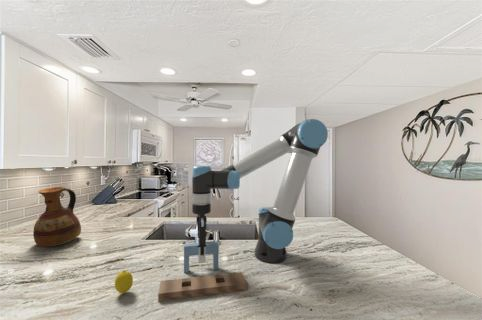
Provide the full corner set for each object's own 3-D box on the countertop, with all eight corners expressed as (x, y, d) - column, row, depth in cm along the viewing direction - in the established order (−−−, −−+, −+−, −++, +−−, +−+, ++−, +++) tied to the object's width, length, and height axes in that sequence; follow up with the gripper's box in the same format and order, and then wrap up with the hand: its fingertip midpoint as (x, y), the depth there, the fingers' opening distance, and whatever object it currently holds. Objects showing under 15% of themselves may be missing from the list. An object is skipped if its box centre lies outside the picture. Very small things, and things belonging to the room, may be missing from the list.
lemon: (119, 289, 84) (118, 267, 84) (135, 288, 84) (135, 266, 84) (111, 298, 78) (111, 275, 78) (129, 298, 79) (129, 274, 78)
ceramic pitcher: (25, 246, 121) (23, 188, 120) (66, 233, 139) (66, 183, 139) (48, 252, 113) (47, 190, 113) (89, 238, 132) (88, 185, 131)
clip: (217, 266, 101) (217, 241, 101) (218, 270, 98) (218, 243, 98) (184, 269, 98) (184, 243, 98) (183, 273, 95) (184, 246, 95)
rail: (241, 278, 92) (241, 272, 92) (246, 290, 84) (247, 283, 84) (160, 287, 85) (160, 280, 85) (158, 301, 77) (158, 293, 77)
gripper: (191, 198, 106) (191, 249, 107) (192, 209, 87) (192, 270, 87) (208, 198, 108) (208, 247, 108) (213, 208, 88) (213, 268, 89)
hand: (201, 257), depth 98 cm, fingers open, 7 cm apart
